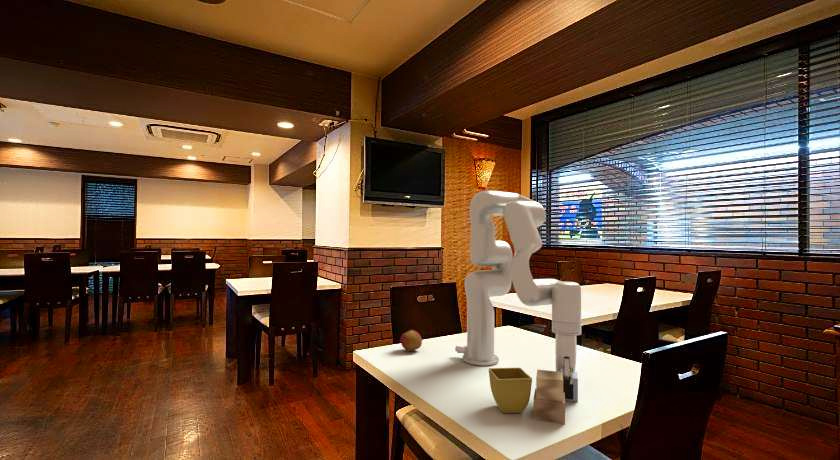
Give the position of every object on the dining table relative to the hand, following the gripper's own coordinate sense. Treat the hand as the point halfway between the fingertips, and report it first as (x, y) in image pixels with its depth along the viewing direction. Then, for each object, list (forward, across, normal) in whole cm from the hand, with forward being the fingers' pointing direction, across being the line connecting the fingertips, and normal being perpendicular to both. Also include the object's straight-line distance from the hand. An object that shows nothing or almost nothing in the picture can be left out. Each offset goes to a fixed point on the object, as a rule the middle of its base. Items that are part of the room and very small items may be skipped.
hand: (566, 393), depth 106 cm
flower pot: (+1, +14, -14) cm, 19 cm away
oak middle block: (-4, +14, -4) cm, 15 cm away
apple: (+1, -25, -55) cm, 61 cm away
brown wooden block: (+1, +14, -4) cm, 15 cm away
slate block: (+1, 0, 0) cm, 1 cm away
